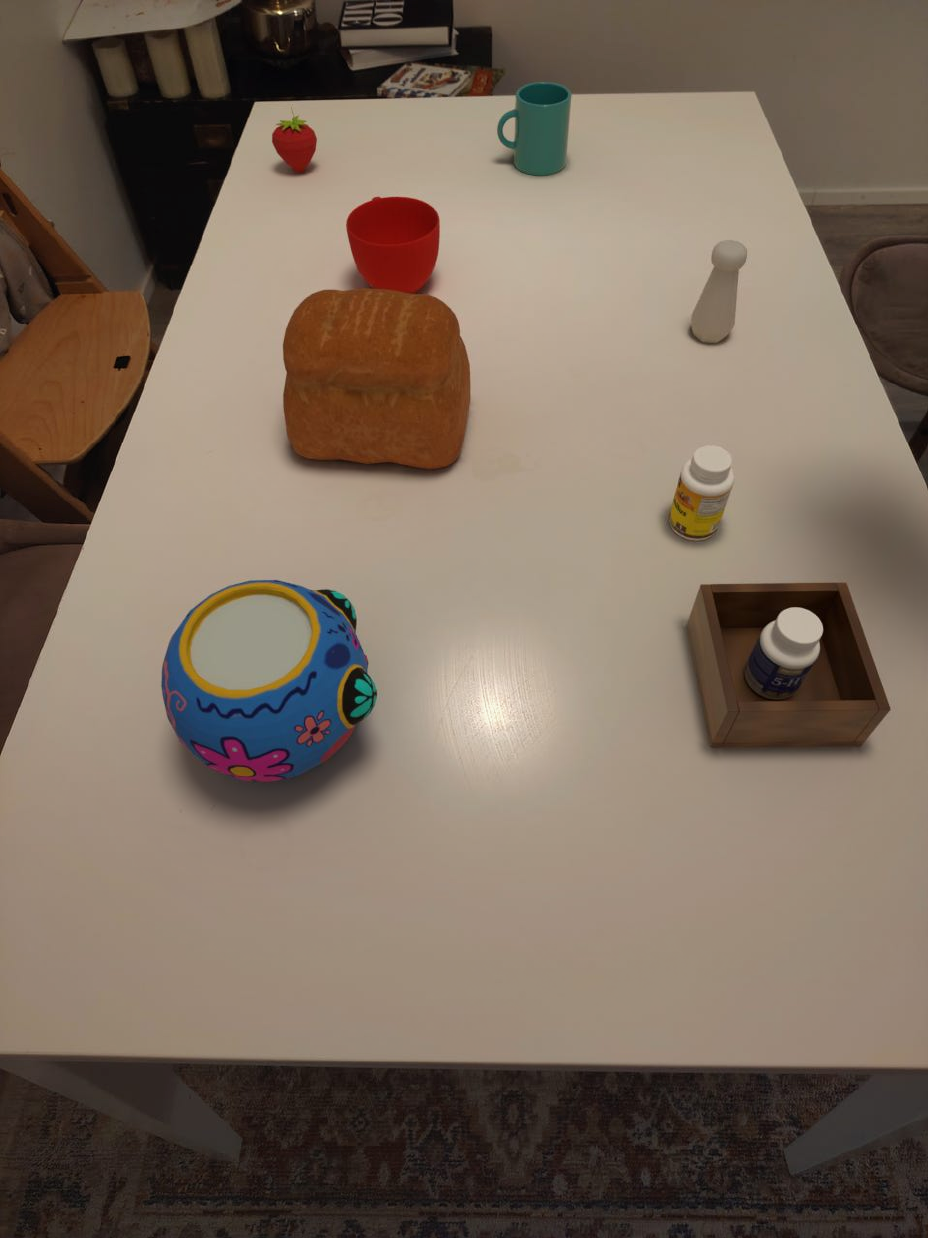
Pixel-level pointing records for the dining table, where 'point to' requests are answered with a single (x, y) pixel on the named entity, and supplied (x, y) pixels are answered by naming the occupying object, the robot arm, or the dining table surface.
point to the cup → (539, 128)
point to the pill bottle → (784, 654)
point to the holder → (828, 696)
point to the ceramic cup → (394, 242)
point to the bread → (376, 378)
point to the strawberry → (295, 143)
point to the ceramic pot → (267, 679)
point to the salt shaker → (719, 293)
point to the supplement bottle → (702, 493)
